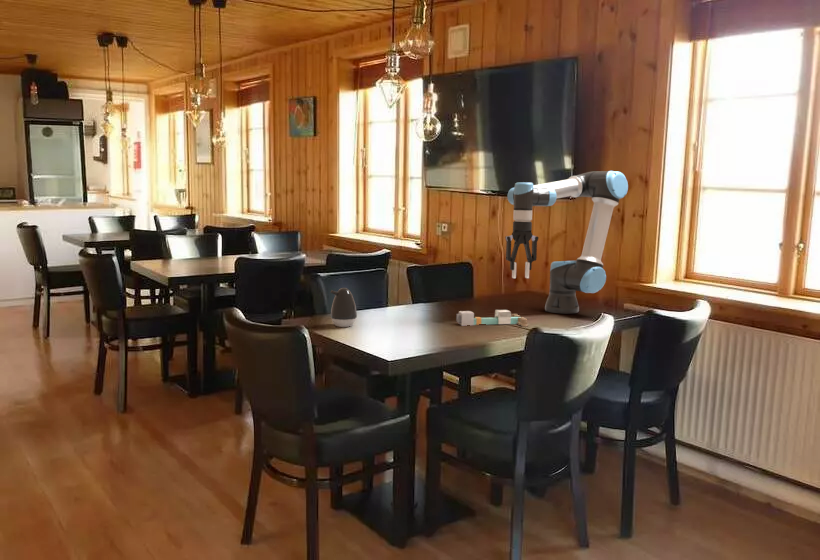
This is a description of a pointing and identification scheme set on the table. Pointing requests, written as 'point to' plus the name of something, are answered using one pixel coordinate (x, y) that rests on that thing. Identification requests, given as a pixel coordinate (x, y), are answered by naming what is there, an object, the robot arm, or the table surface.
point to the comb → (520, 320)
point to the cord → (478, 319)
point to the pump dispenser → (343, 308)
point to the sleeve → (503, 316)
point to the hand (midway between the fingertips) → (520, 278)
